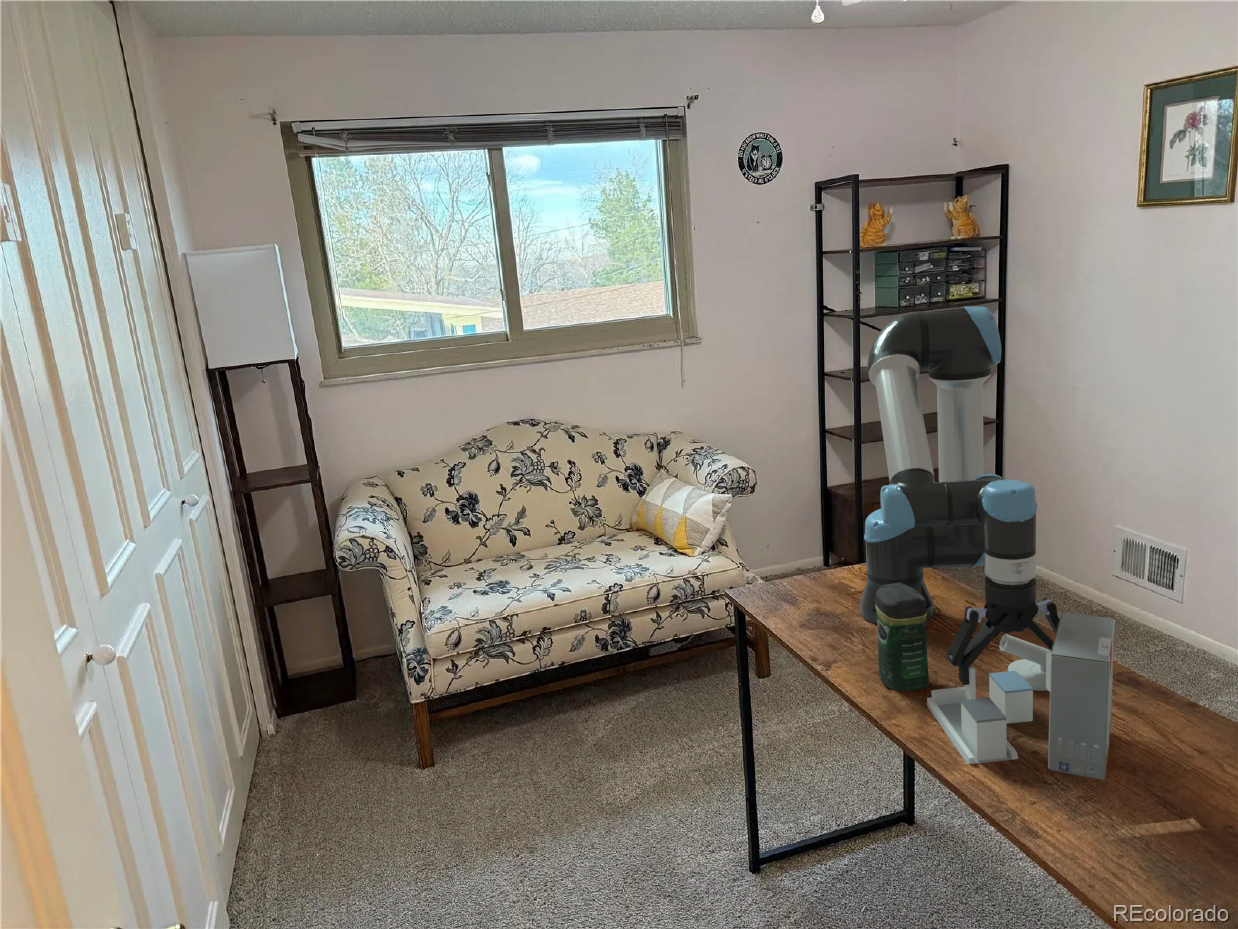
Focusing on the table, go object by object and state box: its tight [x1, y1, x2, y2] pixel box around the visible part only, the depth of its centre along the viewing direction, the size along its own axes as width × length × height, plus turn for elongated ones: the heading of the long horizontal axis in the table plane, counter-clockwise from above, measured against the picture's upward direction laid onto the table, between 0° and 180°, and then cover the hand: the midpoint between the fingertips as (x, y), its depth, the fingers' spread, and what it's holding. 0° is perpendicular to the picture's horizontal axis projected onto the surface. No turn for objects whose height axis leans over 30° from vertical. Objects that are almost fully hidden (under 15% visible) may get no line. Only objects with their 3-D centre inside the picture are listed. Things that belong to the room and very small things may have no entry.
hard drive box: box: [1047, 612, 1116, 781], centre depth 129 cm, size 16×8×20 cm, turn 148°
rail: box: [925, 686, 1020, 765], centre depth 138 cm, size 18×8×3 cm, turn 0°
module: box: [988, 670, 1034, 725], centre depth 141 cm, size 6×4×7 cm
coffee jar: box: [875, 583, 930, 692], centre depth 155 cm, size 10×8×19 cm
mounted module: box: [961, 697, 1008, 761], centre depth 132 cm, size 6×4×7 cm
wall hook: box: [999, 633, 1052, 692], centre depth 150 cm, size 9×10×10 cm
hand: (1011, 696), depth 141 cm, fingers open, 13 cm apart
